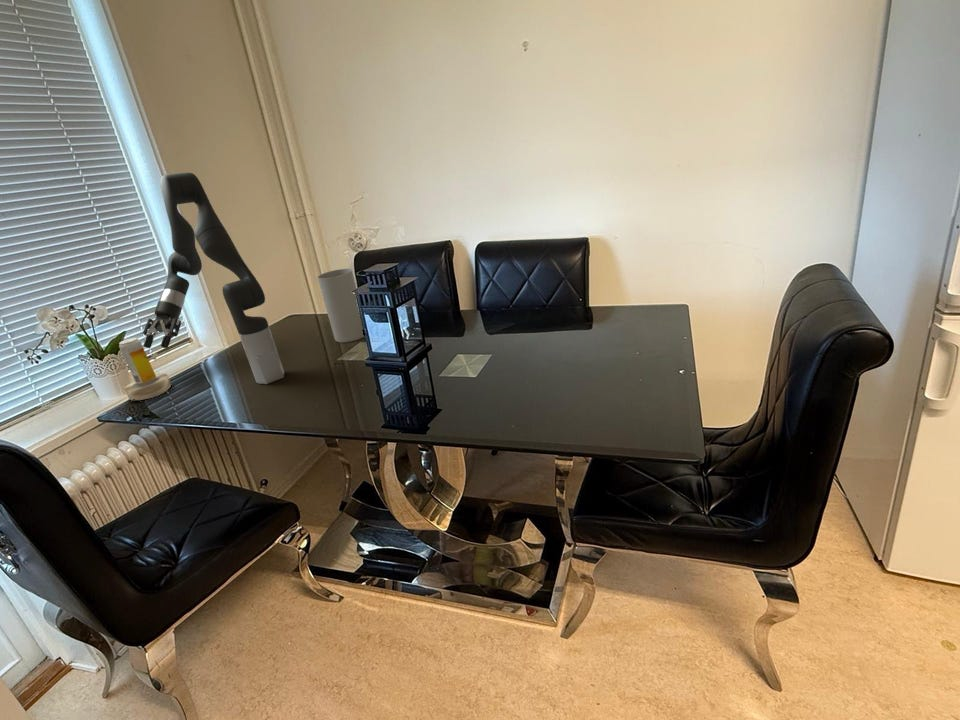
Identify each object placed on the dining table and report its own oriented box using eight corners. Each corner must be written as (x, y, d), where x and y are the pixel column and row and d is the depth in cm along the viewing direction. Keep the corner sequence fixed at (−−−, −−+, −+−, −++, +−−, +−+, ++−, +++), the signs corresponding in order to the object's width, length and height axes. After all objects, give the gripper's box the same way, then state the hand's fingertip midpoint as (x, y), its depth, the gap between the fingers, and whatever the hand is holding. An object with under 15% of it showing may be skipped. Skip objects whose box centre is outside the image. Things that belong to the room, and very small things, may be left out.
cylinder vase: (354, 329, 207) (338, 268, 197) (374, 332, 199) (358, 269, 189) (328, 341, 198) (310, 277, 189) (348, 345, 191) (330, 279, 181)
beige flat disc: (175, 390, 176) (170, 379, 174) (132, 405, 169) (126, 394, 167) (168, 380, 185) (163, 369, 184) (127, 394, 179) (122, 384, 177)
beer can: (160, 376, 178) (142, 336, 172) (148, 384, 172) (129, 343, 166) (145, 378, 179) (126, 338, 173) (132, 386, 173) (113, 345, 167)
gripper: (146, 300, 183) (130, 343, 178) (175, 299, 177) (159, 343, 172) (165, 309, 189) (150, 351, 184) (193, 308, 184) (179, 351, 179)
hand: (155, 347), depth 178 cm, fingers open, 8 cm apart
